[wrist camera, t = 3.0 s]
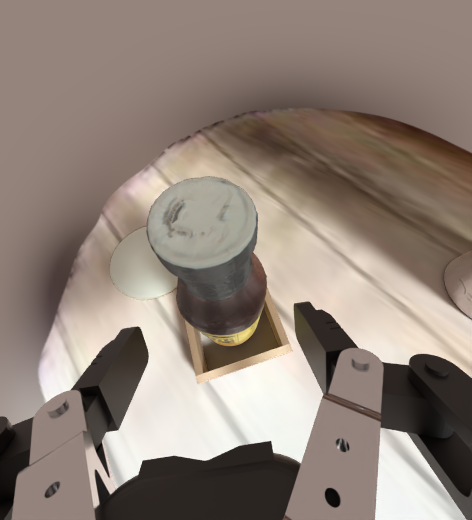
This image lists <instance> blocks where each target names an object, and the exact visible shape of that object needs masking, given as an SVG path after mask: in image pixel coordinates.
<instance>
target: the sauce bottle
mask: <svg viewBox="0 0 472 520" xmlns="http://www.w3.org/2000/svg"><path fill="white" fill-rule="evenodd" d="M257 224H258V214H257V212H256V209H255V205H254V203H253V201H252V199H251V198H250V197H249V195H248V194H247V192H245V191H244V190H243V189H242V188H240V187H239V186H237V185H235V184H233V183H232V182H230V181H228V180H226V179H222V178H218V177H210V176H207V177H201V178H191V179H186V180H183V181H181V182H179V183H177V184H175V185H173V186H171V187H170V188H168V189H167V190H165V191H164V192H163V193H162V194H161V195H160V196H159V197H158V198H157V200H156V201H155V202H154V204H153V205H152V206H151V209H150V212H149V216H148V219H147V231H146V232H147V237H148V241H149V243H150V245H151V248H152V250H153V252H154V253H155V254H156V256H157V258H158V259H159V260H160V262H161V263H162V265H163V266H164V267H165V268H166V269H167V270H168V271H169V272H170V273H172V274H173V275H175V276H176V277H178V281H177V304H178V308H179V310H180V312H181V314H182V316H183V317H184V319H185V320H186V321H187V322H188V323H189V324H190V325H192V326H193V327H194V328H195V329H197V330H198V331H200V332H201V333H202V334H204V335H205V336H207V337H208V338H210V339H211V340H213V341H214V342H216V343H218V344H220V345H223V346H235V345H239V344H241V343H243V342H245V341H246V340H247V339H249V338H250V337H251V335H252V334H253V333H254V331H255V329H256V327H257V324H258V321H259V318H260V315H261V312H262V310H263V307H264V302H265V296H266V290H267V281H266V277H267V276H266V274H265V271H264V268H263V266H262V264H261V262H260V261H259V259H258V258H257V256H256V255H255V254H254V253H253V251H254V248H255V245H256V241H257V229H258V227H257Z"/></svg>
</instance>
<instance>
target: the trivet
mask: <svg viewBox="0 0 472 520" xmlns="http://www.w3.org/2000/svg"><path fill="white" fill-rule="evenodd" d="M146 231H147V226H145V227H142V228H140V229H137V230H135V231H134V232H132V233H131V234H129V235H128V236H127V237H125V238H124V239H123V240H122V241H121V242H120V244H119V245H118V246H117V248H116V249H115V251H114V253H113V255H112V258H111V261H110V276H111V280H112V282H113V284H114V285H115V286H116V288H117V289H118V290H119V291H120V292H122V293H123V294H125V295H127V296H129V297H131V298H135V299H140V300H149V299H155V298H159V297H161V296H164V295H166V294H168V293H170V292H171V291H173V290H174V289H175V288H176V287H177V281H178V277H176V276H175V275H173V274H172V273H170V272H169V271H168V270H167V269H166V268H165V267H164V266H163V265H162V263H161V262H160V260H159V259H158V258H157V256H156V254H155V253H154V252H153V250H152V248H151V245H150V243H149V241H148V237H147V232H146Z"/></svg>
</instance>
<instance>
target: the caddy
mask: <svg viewBox="0 0 472 520" xmlns="http://www.w3.org/2000/svg"><path fill="white" fill-rule="evenodd" d="M264 309H265V312H266V314H267V317H268V320H269V322H270V325H271V328H272V330H273V333H274V336H275V338H276V341H277V344H278V346H279V347H278V348H275V349H272V350H269V351H267V352H264V353H261V354H258V355H255V356H252V357H249V358H246V359H244V360H241V361H238V362H235V363H232V364H229V365H226V366H223V367H221V368H218V369H215V370H212V371H209V372H208V368H207V363H206V359H205V355H204V350H203V346H202V341H201V337H200V332H199V331H198V330H197V329H195V328H194V327H193V326H192V325H190V324H189V323H188V322H187V321H186V320H185V324H186V329H187V334H188V339H189V344H190V349H191V354H192V359H193V364H194V369H195V374H196V379H197V384H200V383H204V382H207V381H209V380H212V379H215V378H218V377H221V376H224V375H226V374H229V373H232V372H235V371H238V370H241V369H244V368H246V367H249V366H252V365H255V364H258V363H261V362H264V361H266V360H269V359H272V358H275V357H278V356H281V355H284V354H286V353H289V352H291V351H292V348H291V346H290V343H289V341H288V338H287V336H286V333H285V331H284V328H283V326H282V323H281V321H280V318H279V316H278V313H277V311H276V308H275V306H274V303H273V301H272V298H271V296H270V293H269V291H268V288H267V290H266V296H265V302H264Z"/></svg>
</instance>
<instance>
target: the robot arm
mask: <svg viewBox="0 0 472 520" xmlns="http://www.w3.org/2000/svg"><path fill="white" fill-rule="evenodd" d="M444 281H445V286H446V289H447V291H448V294H449V295H450V297H451V298H452V300H453V301H454V303H455V304H456V305H457V306H458V307H459V308H460V309H461V311H463V312H464V313H465V314H466V315H468V316H469V317H470V318H471V319H472V250H470V251H468V252H466V253H464V254H463V255H461V256H459V257H457V258H455V259H454V260H452V261H451V262H450V263H449V264H448V265H447V267H446V270H445V273H444ZM294 320H295V332H296V337H297V340H298V342H299V344H300V346H301V348H302V351H303V353H304V355H305V357H306V359H307V361H308V363H309V365H310V367H311V369H312V371H313V373H314V375H315V377H316V379H317V382H318V384H319V386H320V388H321V390H322V392H323V394H324V395H323V397H322V400H321V403H320V406H319V409H318V412H317V416H316V419H315V422H314V425H313V428H312V431H311V434H310V438H309V441H308V444H307V447H306V450H305V453H304V456H303V460H302V463H299V462H298V461H296V460H294V459H292V458H290V457H288V456H284V455H281V454H276V453H273V449H272V444H271V441H268V442H261V443H255V444H248V445H242V446H238V447H236V448H234V449H232V450H230V451H227V452H225V453H223V454H221V455H219V456H217V457H214V458H212V459H210V460H207V461H202V460H196V459H190V458H184V457H178V456H170V457H164V458H157V459H151V460H144V461H142V465H141V468H140V471H139V475H137V476H135V477H133V478H132V479H130V480H128V481H127V482H125V483H124V484H123V485H121V486H120V487H119V488H117V489H116V488H115V485H114V481H113V477H112V472H111V468H110V464H109V460H108V456H107V452H106V447H105V444H104V441H103V437H104V435H105V433H106V432H109V431H116V430H119V428H120V425H121V423H122V421H123V418H124V416H125V414H126V412H127V409H128V407H129V405H130V402H131V400H132V398H133V396H134V393H135V391H136V389H137V386H138V384H139V382H140V380H141V377H142V375H143V373H144V370H145V368H146V366H147V363H148V357H149V355H148V349H147V346H146V343H145V340H144V337H143V334H142V331H141V329H140V327H131V328H124V329H122V330H121V331H120V332H119V334H118V335H117V337H116V338H115V339H114V340H112V341H111V342H110V343H108V344H107V345H106V346H105V347H103V348H102V350H101V351H100V352H99V354H98V355H97V356H96V358H95V359H94V360H93V361H92V363H91V365H90V366H89V367H88V368H87V369H86V371H85V372H84V373H83V375H82V376H81V377H80V379H79V380H78V381H77V382H76V384H75V385H74V386H73V388H72V389H71V390H70V391H66V392H63V393H61V394H59V395H57V396H55V397H54V398H52V399H51V400H49V401H48V402H47V403H45V404H44V405H43V406H42V407H41V408H40V409H39V411H38V412H37V413H36V415H35V416H34V417H33V418H30V419H28V420H25V421H22V422H20V423H17V424H15V425H11V423H10V422H9V420H8V419H7V418H6V417H0V520H375V508H376V492H377V475H378V459H379V443H380V428H386V429H391V430H397V431H402V432H407V433H408V435H409V436H410V438H411V439H412V441H413V442H414V443H415V445H416V446H417V448H418V449H419V451H420V452H421V454H422V455H423V457H424V458H425V459H426V461H427V462H428V464H429V465H430V467H431V468H432V470H433V471H434V473H435V474H436V475H437V477H438V478H439V480H440V481H441V483H442V484H443V486H444V487H445V489H446V490H447V491H448V493H449V494H450V496H451V497H452V499H453V500H454V502H455V503H456V505H457V506H458V507H459V509H460V510H461V512H462V513H463V515H464V516H465V518H466V519H467V520H472V378H471V377H470V376H468V375H467V374H466V373H465V372H463V371H462V370H461V369H460V368H459V367H457V366H456V365H455V364H453V363H451V362H449V361H448V360H446V359H443V358H441V357H438V356H434V355H429V354H417V355H414V356H412V357H411V358H410V361H409V365H401V364H391V363H384V362H381V360H380V359H379V358H378V357H377V356H376V355H374V354H373V353H371V352H369V351H367V350H364V349H359V348H358V347H357V345H356V344H355V343H354V342H353V341H352V340H351V338H350V337H349V336H348V335H347V334H346V332H345V331H344V330H343V329H342V328H341V326H340V325H339V324H338V323H336V321H335V319H334V318H333V317H332V316H331V315H330V314H329V313H327V312H325V311H323V310H315V308H314V307H313V306H312V304H311V303H310V302H309V301H308V302H301V303H295V304H294Z"/></svg>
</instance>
